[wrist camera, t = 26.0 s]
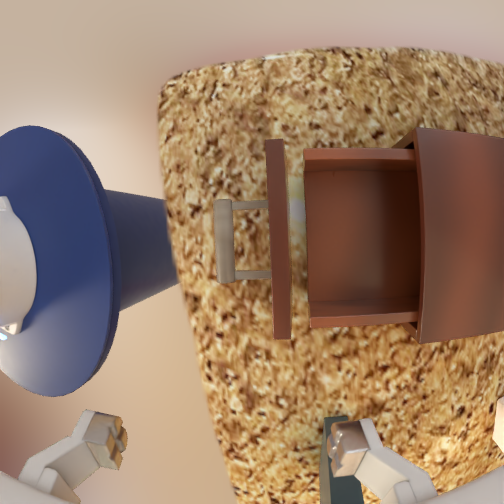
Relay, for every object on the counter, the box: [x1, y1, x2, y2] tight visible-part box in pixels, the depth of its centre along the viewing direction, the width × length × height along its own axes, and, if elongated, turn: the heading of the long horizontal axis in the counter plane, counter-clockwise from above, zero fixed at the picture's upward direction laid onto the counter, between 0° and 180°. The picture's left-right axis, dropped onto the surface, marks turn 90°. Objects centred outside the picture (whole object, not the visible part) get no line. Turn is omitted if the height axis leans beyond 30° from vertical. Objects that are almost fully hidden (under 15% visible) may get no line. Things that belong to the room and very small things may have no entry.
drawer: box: [213, 139, 421, 339], centre depth 22 cm, size 18×13×6 cm
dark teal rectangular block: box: [319, 416, 364, 504], centre depth 20 cm, size 2×8×15 cm, turn 3°
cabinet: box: [392, 127, 504, 344], centre depth 20 cm, size 15×15×8 cm
